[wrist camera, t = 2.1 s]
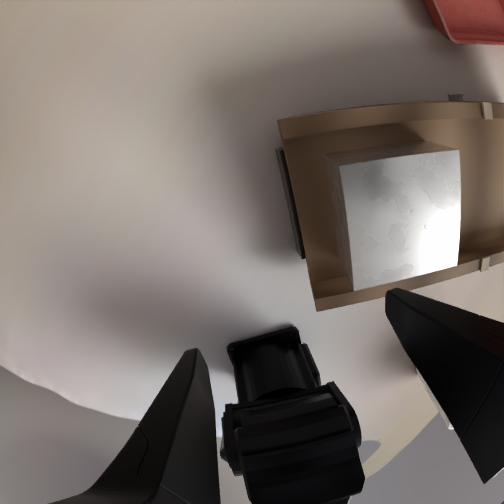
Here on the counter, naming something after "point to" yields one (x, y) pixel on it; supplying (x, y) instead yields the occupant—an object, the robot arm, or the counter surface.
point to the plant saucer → (469, 20)
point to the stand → (290, 201)
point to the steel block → (395, 210)
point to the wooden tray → (391, 132)
